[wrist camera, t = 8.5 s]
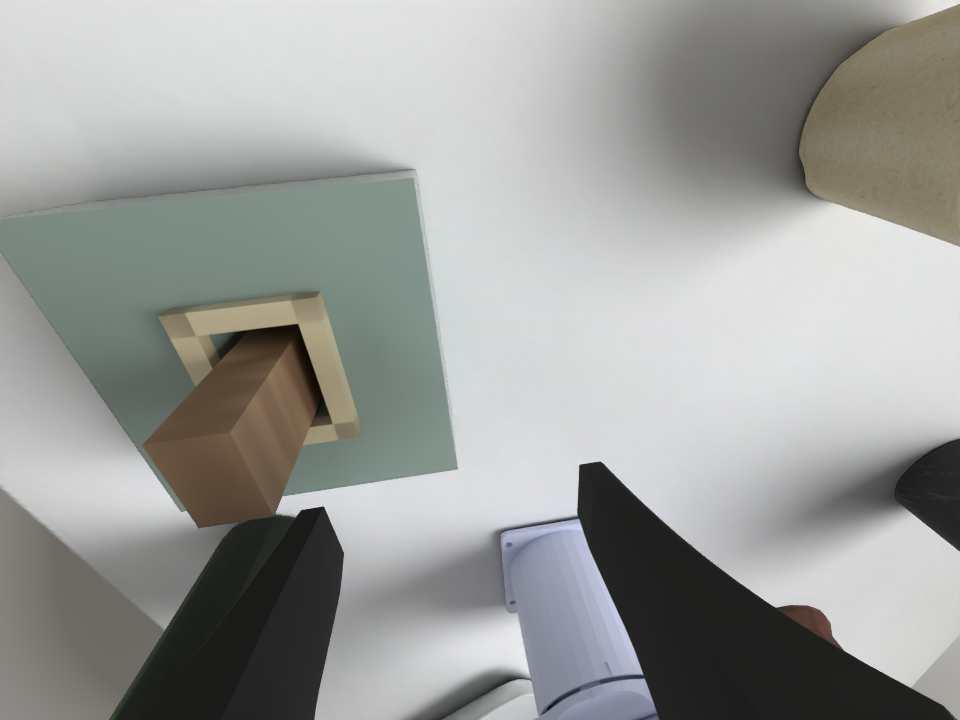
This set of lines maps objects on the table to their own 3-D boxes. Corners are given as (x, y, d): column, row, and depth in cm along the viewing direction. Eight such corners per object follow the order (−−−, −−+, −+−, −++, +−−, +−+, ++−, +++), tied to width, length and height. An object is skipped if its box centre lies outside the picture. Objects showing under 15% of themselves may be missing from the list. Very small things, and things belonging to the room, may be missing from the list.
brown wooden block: (313, 308, 16) (230, 432, 9) (332, 369, 18) (274, 516, 11) (263, 314, 16) (141, 445, 9) (288, 375, 17) (198, 528, 11)
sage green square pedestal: (452, 415, 21) (459, 479, 17) (222, 448, 20) (173, 523, 16) (415, 169, 15) (413, 179, 11) (88, 202, 14) (-44, 224, 10)
